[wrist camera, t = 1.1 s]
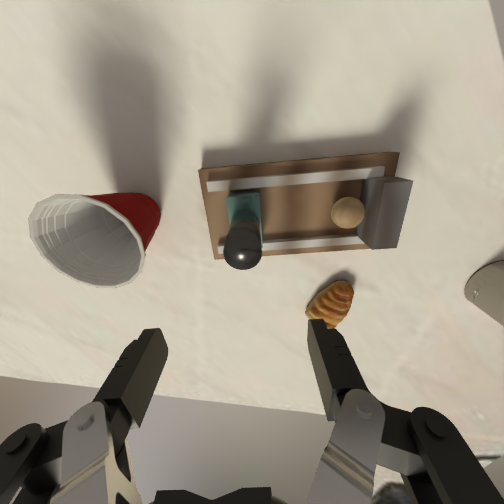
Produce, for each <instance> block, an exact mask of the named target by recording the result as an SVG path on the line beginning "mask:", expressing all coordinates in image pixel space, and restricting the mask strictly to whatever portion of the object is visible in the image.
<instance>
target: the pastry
mask: <svg viewBox="0 0 504 504" xmlns="http://www.w3.org/2000/svg"><path fill="white" fill-rule="evenodd" d="M353 295H354V291H353V288H352V286H351V284H350V283H349V282H347V281H335V282H333V283H331V284H330V285H329V286H328V287H326V288H325V289H323V290H321V291H319V292H318V294H317V295H316V296H315V298H314V299H313V300H312V301H311V302H310V304H309V305H308V307H307V309H306V311H305V314H306V316H307V317H308V318H309V319H322V318H323V319H324V321H325V323H326V326H327V328H328V329H332V328H335V327H336V326H337V324H338V323H340V322H341V321H342V320H343V318H344V317H345V316H346V315H347V313H348V311H349V309H350V307H351V303H352V298H353Z"/></svg>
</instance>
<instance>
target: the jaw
mask: <svg viewBox="0 0 504 504" xmlns="http://www.w3.org/2000/svg"><path fill="white" fill-rule="evenodd" d="M226 203H227V210H228V218H229V225H230V227H229V231H228V234H227V238H226V242H225V245H224V249H223V255H224V258H225V260H226V262H227V263H228V264H229V265H230V266H232V267H234V268H236V269H240V270H246V269H250V268H252V267H254V266H256V265H257V264H258V263H259V261H260V259H261V257H262V248H263V244H262V228H261V213H260V198H259V190H250V191H238V192H228V194H227V196H226Z"/></svg>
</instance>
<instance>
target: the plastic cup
mask: <svg viewBox="0 0 504 504" xmlns="http://www.w3.org/2000/svg"><path fill="white" fill-rule="evenodd" d="M160 217H161V215H160V209H159V207H158V206H157V204H156V202H155V201H154V200H152V199H151V198H150V197H149V196H147V195H144V194H142V193H113V194H103V195H93V196H87V195H64V194H57V195H53V196H51V197H49V198H47V199H44V200H42V201H40V202H38V203H37V204H36V205H35V207H34V209H33V211H32V213H31V214H30V216H29V218H28V220H29V231H30V237H31V239H32V241H33V243H34V244H35V246H36V248H37V250H38V251H39V253H40V255H41V256H42V257H43V258H44V259H45V260H46V261H47V262H48V263H49V264H51V265H52V266H53V267H54V268H55V269H56V270H57V271H59V272H60V273H62V274H64V275H66V276H67V277H69V278H71V279H73V280H75V281H76V282H79V283H83V284H86V285H90V286H93V287H97V288H117V287H120V286H123V285H126V284H129V283H132V282H133V281H134V280H135V278H136V277H137V276H138V275H139V274H140V273H141V272H142V269H143V265H144V260H145V256H146V254H145V250H146V249H147V247H148V245H149V243H150V241H151V239H152V237H153V235H154V233H155V230H156V229H157V227H158V225H159V222H160Z"/></svg>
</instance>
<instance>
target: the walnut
mask: <svg viewBox="0 0 504 504" xmlns="http://www.w3.org/2000/svg"><path fill="white" fill-rule="evenodd" d="M364 215H365V208H364V205H363V203H362V202H361V201H360V200H358V199H357V198H354V197H345V198H342V199H340V200H338V201H337V202H336V203H335V204H334V205H333V207H332V210H331V217H332V220H333V222H334V223H335V224H336V225H337V226H339V227H341V228H353V227H355V226H357V225H358V224H359V223H360V222H361V221H362V220H363V218H364Z"/></svg>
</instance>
